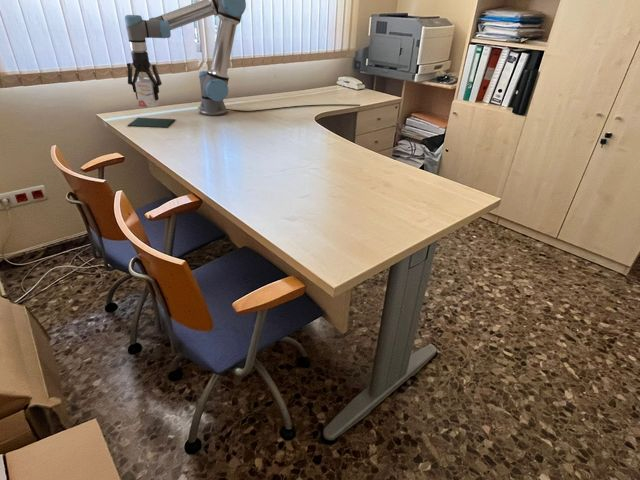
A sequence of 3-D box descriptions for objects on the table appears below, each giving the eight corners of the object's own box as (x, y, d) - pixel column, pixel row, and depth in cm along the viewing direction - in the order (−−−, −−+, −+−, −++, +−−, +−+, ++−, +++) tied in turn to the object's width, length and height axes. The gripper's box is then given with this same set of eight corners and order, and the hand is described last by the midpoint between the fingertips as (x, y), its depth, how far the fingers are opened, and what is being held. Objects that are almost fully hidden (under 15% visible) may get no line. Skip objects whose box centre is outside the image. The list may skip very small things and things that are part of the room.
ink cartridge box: (138, 106, 204) (132, 76, 196) (143, 104, 208) (137, 74, 200) (154, 107, 203) (149, 77, 195) (159, 105, 207) (154, 75, 200)
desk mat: (175, 120, 217) (174, 119, 216) (167, 127, 205) (166, 126, 205) (138, 118, 216) (138, 117, 216) (128, 126, 204) (127, 125, 204)
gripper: (164, 51, 195) (171, 98, 207) (119, 49, 194) (129, 96, 207) (159, 53, 189) (166, 101, 201) (113, 51, 188) (123, 99, 200)
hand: (147, 99), depth 204 cm, fingers closed on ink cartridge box, 9 cm apart
